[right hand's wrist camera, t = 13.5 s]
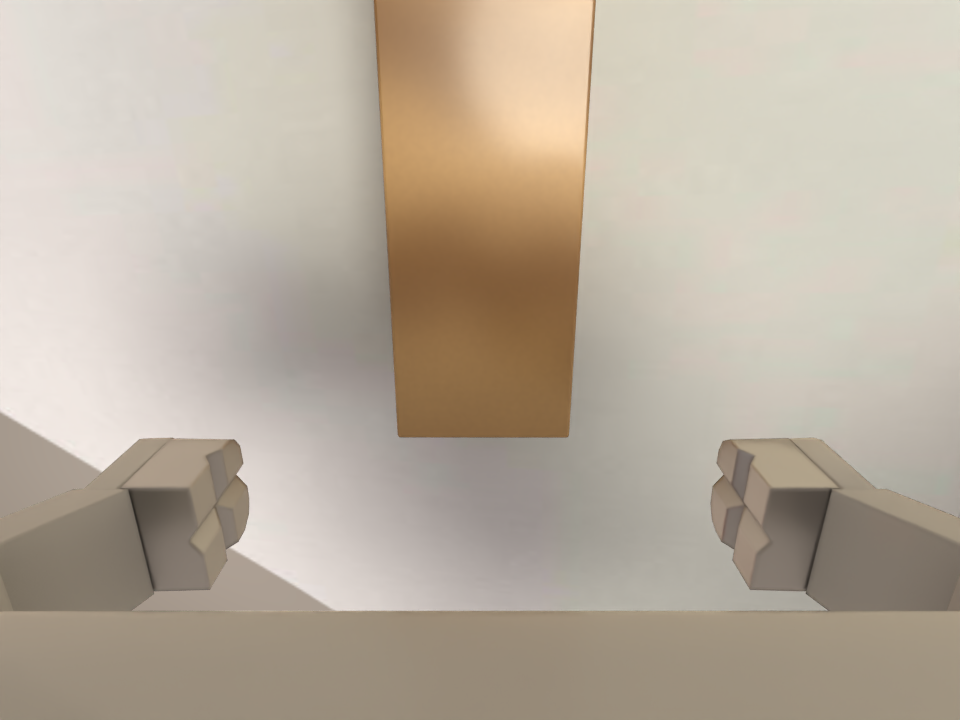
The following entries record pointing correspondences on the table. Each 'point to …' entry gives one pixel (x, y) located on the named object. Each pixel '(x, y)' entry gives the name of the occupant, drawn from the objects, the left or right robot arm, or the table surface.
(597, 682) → the right robot arm
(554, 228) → the box
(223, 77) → the table surface
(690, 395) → the table surface
